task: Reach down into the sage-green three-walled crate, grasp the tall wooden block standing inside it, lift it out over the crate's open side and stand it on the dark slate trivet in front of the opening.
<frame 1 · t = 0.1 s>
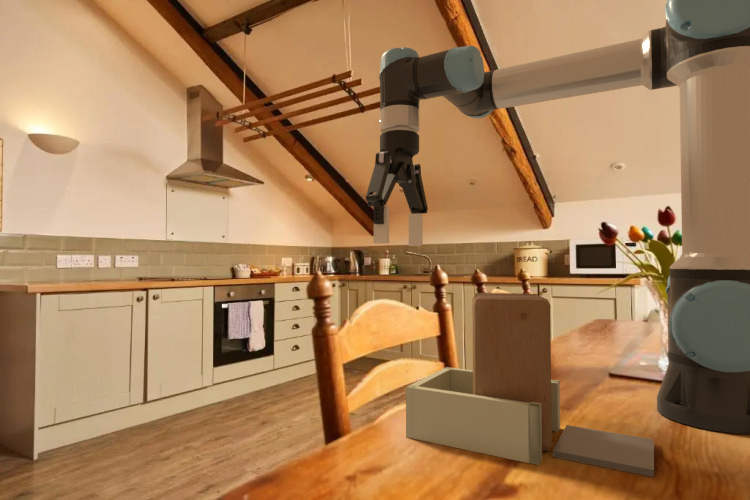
hand: (399, 245, 89), 28 cm above the table, fingers open, 13 cm apart
trivet: (605, 450, 61), on the table
crate: (485, 432, 68), on the table
wooden block: (509, 438, 66), on the table
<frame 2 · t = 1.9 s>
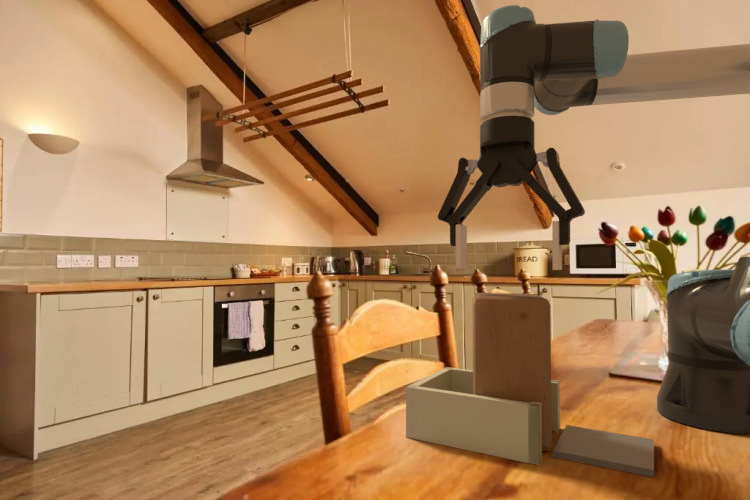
hand: (506, 269, 67), 24 cm above the table, fingers open, 13 cm apart
nothing on the table moved.
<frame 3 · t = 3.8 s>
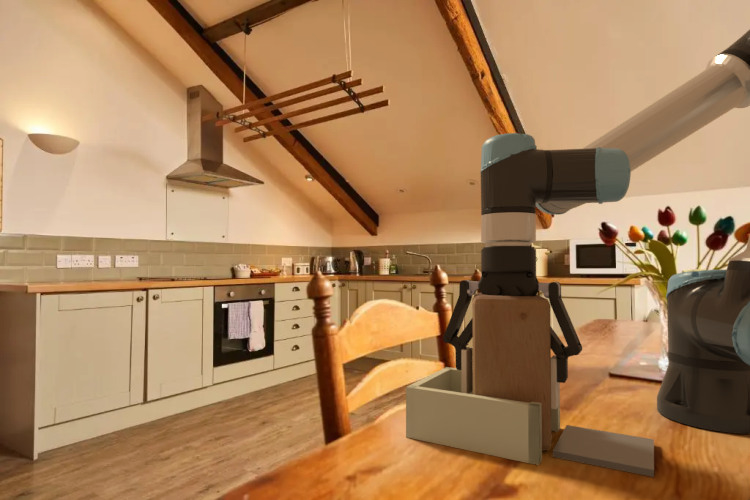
hand: (509, 399, 66), 5 cm above the table, fingers closed on wooden block, 12 cm apart
wooden block: (509, 438, 66), on the table, touching gripper
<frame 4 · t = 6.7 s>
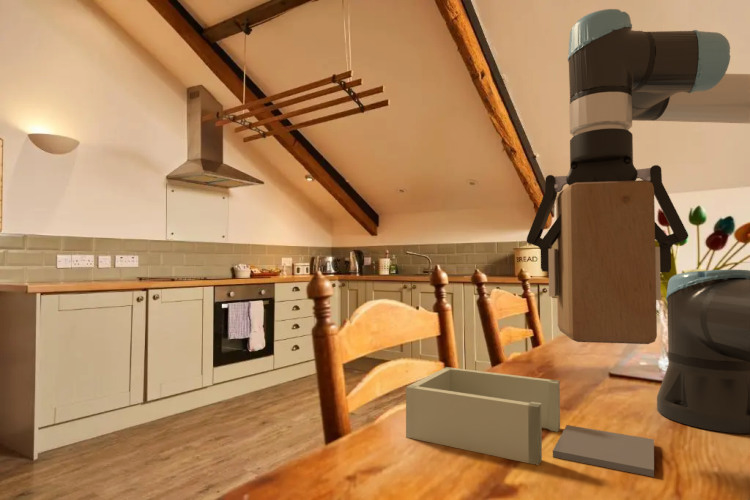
hand: (602, 297, 62), 20 cm above the table, fingers closed on wooden block, 12 cm apart
wooden block: (603, 339, 62), point 14 cm above the table, touching gripper
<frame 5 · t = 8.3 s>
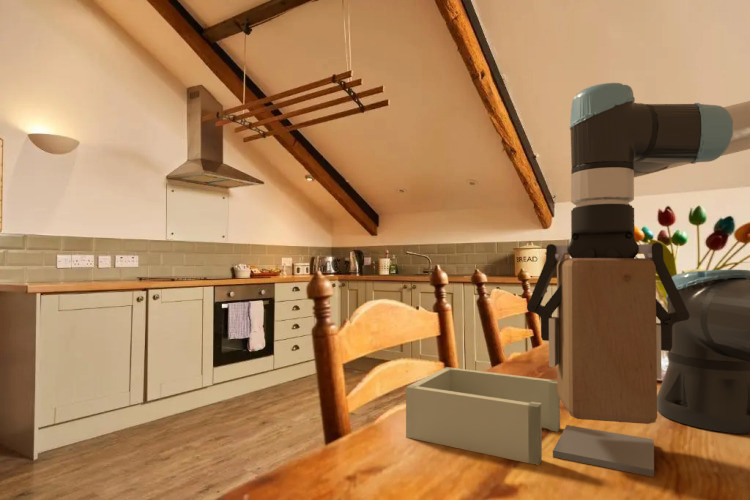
hand: (603, 370, 62), 10 cm above the table, fingers closed on wooden block, 12 cm apart
wooden block: (603, 412, 61), point 5 cm above the table, touching gripper
when the fingers open (7 cm above the table, at t = 9.7 s): wooden block stays where it is, resting on trivet.
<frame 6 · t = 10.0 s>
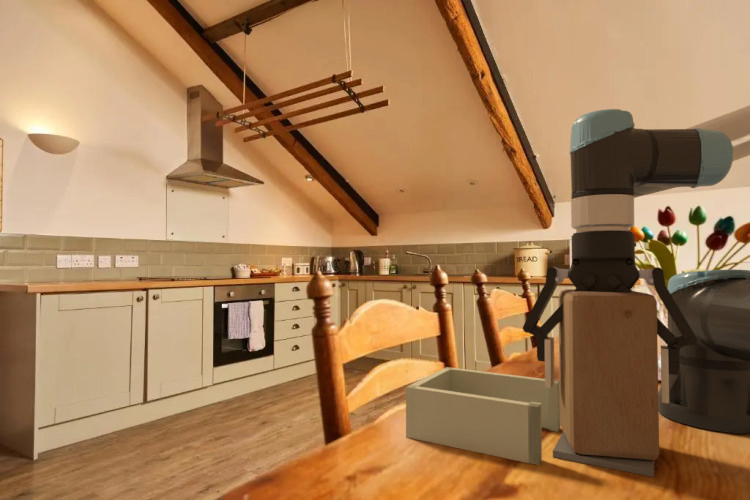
hand: (604, 392, 62), 8 cm above the table, fingers open, 13 cm apart
wooden block: (605, 446, 61), point 1 cm above the table, touching trivet
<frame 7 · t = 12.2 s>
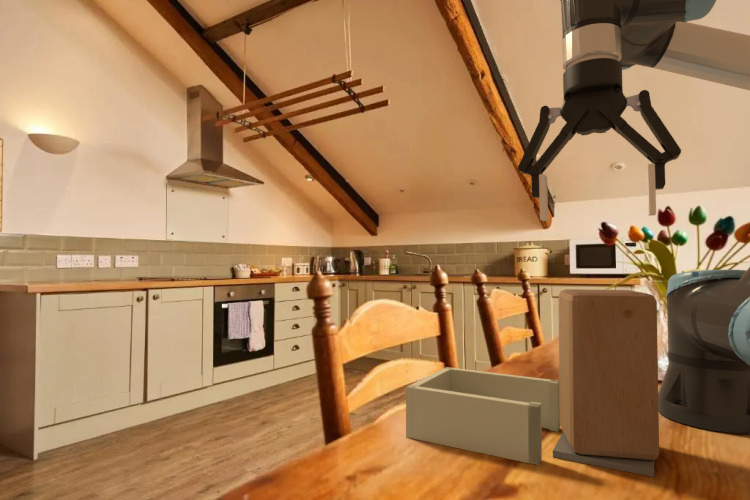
hand: (595, 217, 65), 31 cm above the table, fingers open, 13 cm apart
nothing on the table moved.
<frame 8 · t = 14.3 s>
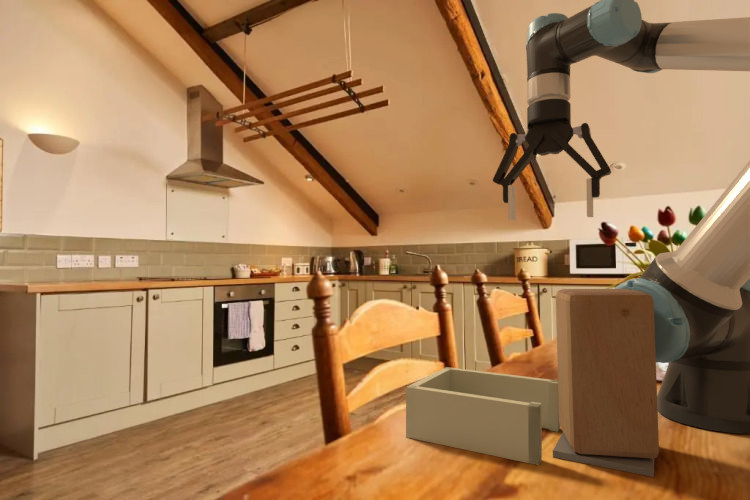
hand: (549, 218, 86), 33 cm above the table, fingers open, 13 cm apart
wooden block: (605, 445, 61), point 1 cm above the table, touching arm, trivet
at the end: wooden block 0.1 cm from the trivet (horizontally); wooden block tilted 1°; the gripper is holding nothing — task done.
